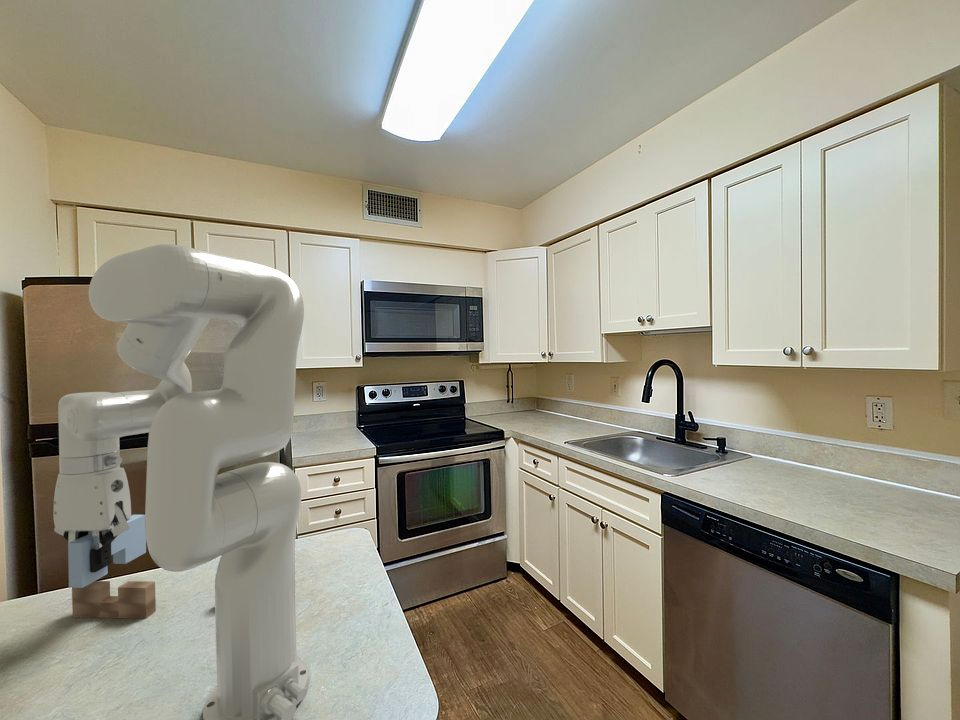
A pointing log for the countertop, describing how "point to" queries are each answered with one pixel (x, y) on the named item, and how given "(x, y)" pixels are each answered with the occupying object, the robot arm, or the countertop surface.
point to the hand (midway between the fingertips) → (92, 567)
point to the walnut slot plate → (114, 600)
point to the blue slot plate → (121, 549)
